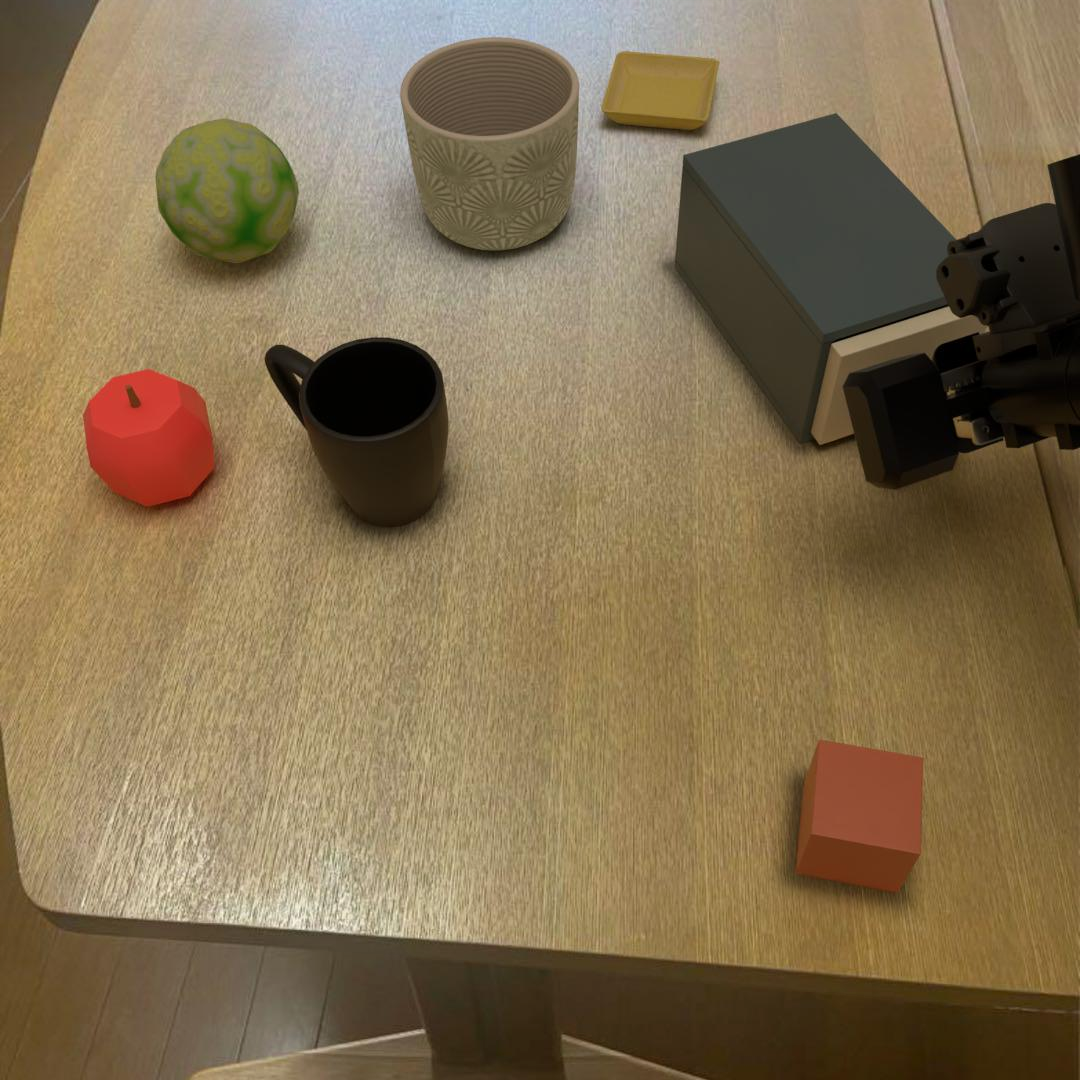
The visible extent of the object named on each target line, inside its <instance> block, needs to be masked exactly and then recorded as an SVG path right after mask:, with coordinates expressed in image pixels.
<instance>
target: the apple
mask: <svg viewBox="0 0 1080 1080" xmlns="http://www.w3.org/2000/svg"><path fill="white" fill-rule="evenodd" d="M82 419H83V427H84V429H83V430H84V437H85V445H86V452H87V457H88V461H89V466H90V468H91V469H92V470H93V472H94V473H95V474H96V475H97V476H98V477H99V478H100V479H101V480H102V481H103V482H104V483H105V484H106V486H108V487H109V489H110V490H112V492H113V493H115V494H117V495H119V496H122V497H124V498H126V499H128V500H131V501H133V502H135V503H137V504H139V505H142V506H145V507H146V508H148V507H152V506H157V505H160V504H164V503H167V502H171V501H172V502H173V501H176V500H179V499H180V500H181V499H183V498H187V497H191V495H192V494H193V493H194V492H195V491H196V490H197V488H198V487H199V486H200V485H201V484H202V483H203V482H204V480H205V479H206V478H207V477H208V476H209V475H210V474H211V473H212V471H213V470H214V469H215V468H216V463H215V462H216V461H215V453H214V440H213V433H212V429H211V423H210V418H209V413H208V408H207V403H206V402H205V400H204V399H203V397H202V395H201V394H200V393H199V391H198V390H197V389H196V388H195V387H193V386H192V385H190V384H187V383H185V382H183V381H180V380H178V379H175V378H172V377H170V376H168V375H166V374H162V373H160V372H158V371H155V370H152V369H150V368H146V369H143V370H138V371H134V372H129V373H125V374H121V375H116V376H112V377H111V379H109V380H108V382H107V383H105V384H104V386H102V387H101V388H100V390H98V391H97V392H96V393H95V394H94V396H93V397H91V399H89V400H88V404H87V405H86V407H85V409H84V411H83V413H82Z"/></svg>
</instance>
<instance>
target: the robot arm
mask: <svg viewBox="0 0 1080 1080" xmlns="http://www.w3.org/2000/svg"><path fill="white" fill-rule="evenodd" d="M1046 167H1047V171H1048V175H1049V176H1048V177H1049V181H1050V184H1051V191H1052V194H1053V199H1054V203H1052V202H1044V203H1039V204H1036V205H1033V206H1031V207H1027V208H1026V207H1025V208H1023V209H1020V210H1017V211H1013V212H1010V213H1007V214H1003V215H1000V216H996V217H994V218H991V219H989V220H988V221H987V222H986V223H985V224H984V225H983V226H982V227H981V228H980V229H979V230H978V231H976V232H971V233H969V234H967V235H966V236H964V237H961V238H956V240H954V241H951V242H949V243H948V246H947V252H948V255H949V256H947V257H946V258H945V259H944V260H943V261H942V262H941V263H940V264H939V265H938V267H937V271H936V279H937V281H938V284H939V286H940V288H941V290H942V292H943V294H944V297H945V299H946V301H947V303H948V305H949V307H950V310H951V312H952V313H953V314H954V315H955V316H957V317H959V318H963V317H966V316H970V315H973V316H976V317H977V318H978V319H979V321H980V323H981V324H982V325H987V328H988V330H989V331H985V333H983V334H979V332H977V333H974V334H971V335H968V336H964V337H961V338H958V339H955V340H952V341H949V342H946V343H943V344H941V345H939V346H938V347H937V348H936V349H935V351H934V353H933V356H932V360H931V359H930V358H929V357H928V356H927V354H926V353H919V354H912V355H908V356H903V357H899V358H895V359H891V360H888V361H885V362H882V363H879V364H876V365H873V366H870V367H867V368H864V369H861V370H858V371H855V372H851V373H849V375H848V377H847V379H846V381H845V383H844V385H843V391H844V395H845V399H846V403H847V407H848V411H849V415H850V419H851V423H852V427H853V431H854V434H853V435H854V438H855V443H856V447H857V451H858V455H859V459H860V462H861V467H862V470H863V474H864V478H865V479H864V480H865V482H868V483H869V484H871V485H872V486H875V487H876V488H878V489H887V490H896V491H897V490H899V489H902V488H906V487H908V486H910V485H914V484H918V483H919V482H922V481H925V480H928V479H931V478H933V477H936V476H939V475H942V474H945V473H947V472H951V471H954V468H955V465H956V463H957V460H958V457H959V455H960V454H970V453H972V452H975V451H978V450H981V449H984V448H987V447H989V446H993V445H995V444H998V443H1000V442H1003V441H1004V443H1005V447H1006V449H1021V448H1024V447H1027V446H1029V445H1033V444H1035V443H1037V442H1038V443H1039V442H1040V441H1041V442H1042V441H1043V440H1046V439H1049V438H1053V437H1054V438H1056V440H1057V445H1058V449H1059V450H1063V451H1075V450H1077V449H1080V153H1079V154H1076V155H1073V156H1072V155H1071V156H1069V157H1066V158H1063V159H1061V160H1060V159H1059V160H1057V161H1053V162H1051V163H1047V164H1046Z"/></svg>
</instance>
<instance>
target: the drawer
mask: <svg viewBox="0 0 1080 1080" xmlns="http://www.w3.org/2000/svg"><path fill="white" fill-rule="evenodd" d="M987 329H988V326H987V325H982V324H981V323H980V321H979V319H978V318H977V317H976V316H973V315H970V316H966V317H963V318H959V317H957V316H955V315H954V314H953V313H952V312H951V310H950V307H949V305H948V304H947V305H944V306H941V307H938V308H934V309H931V310H928V311H925V312H922V313H919V314H916V315H912V316H909V317H906V318H903V319H900V320H897V321H893V322H890V323H887V324H884V325H881V326H878V327H875V328H871V329H868V330H865V331H862V332H859V333H856V334H853V335H849V336H846V337H843V338H840V339H837V340H834V341H833V343H832V344H831V347H830V351H829V356H828V360H827V364H826V369H825V373H824V377H823V382H822V386H821V390H820V395H819V399H818V403H817V408H816V412H815V416H814V421H813V425H812V430H811V434H812V435H813V436H814V438H815V439H814V440H815V441H816V442H817V443H818V445H820V446H821V445H824V444H828V443H830V442H833V441H836V440H837V441H838V440H840V439H842V438H845V437H848V436H851V435H854V431H853V427H852V423H851V419H850V415H849V411H848V407H847V403H846V399H845V395H844V391H843V385H844V383H845V381H846V379H847V377H848V375H849V373H851V372H855V371H858V370H861V369H864V368H867V367H870V366H873V365H876V364H879V363H882V362H885V361H888V360H891V359H895V358H899V357H903V356H908V355H912V354H919V353H926V354H927V356H928V357H929V358H930V359H931V360H932V356H933V353H934V351H935V349H936V348H937V347H938V346H939V345H941V344H943V343H946V342H949V341H952V340H955V339H958V338H961V337H964V336H968V335H971V334H974V333H977V332H979V334H983V333H986V332H987Z"/></svg>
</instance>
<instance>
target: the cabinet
mask: <svg viewBox="0 0 1080 1080" xmlns="http://www.w3.org/2000/svg"><path fill="white" fill-rule="evenodd" d="M680 179H681V180H680V192H679V193H680V194H679V205H678V218H677V230H676V241H675V242H676V243H675V254H674V255H675V256H674V257H675V258H674V269H675V271H676V272H677V273H678V274H679V276H680V277H681V279H682V280H683V281H684V283H685V285H686V286H687V287H688V289H689V290H690V291H691V292H692V295H694V297H695V298H696V300H697V301H698V303H699V304H700V306H701V307H702V308H703V310H704V311H705V313H706V314H707V315H708V317H709V318H710V319H711V321H712V323H713V324H714V325H715V327H716V328H717V330H718V331H719V332H720V334H721V335H722V336H723V338H724V340H725V341H726V342H727V344H728V345H729V347H730V348H731V349H732V351H733V352H734V354H735V355H736V356H737V358H738V359H739V361H740V362H741V364H742V365H743V367H745V369H746V370H747V372H748V373H749V375H750V376H751V378H752V379H753V380H754V382H755V383H756V385H757V386H758V387H759V389H760V390H761V392H762V393H763V394H764V396H765V397H766V399H767V400H768V401H769V403H770V404H771V406H772V407H773V409H774V410H775V411H776V413H777V414H778V415H779V417H780V418H781V420H782V421H783V423H784V424H785V425H786V427H787V428H788V430H789V431H790V432H791V434H792V435H793V436H794V438H795V440H796V441H797V442H798V444H799V445H803V444H804V443H807V442H811V441H814V440H816V439H815V438H814V436H813V435H812V434H811V430H812V425H813V421H814V416H815V412H816V408H817V403H818V399H819V395H820V390H821V386H822V382H823V377H824V373H825V369H826V364H827V360H828V356H829V351H830V347H831V344H832V343H833V341H834V340H837V339H840V338H843V337H846V336H849V335H853V334H856V333H859V332H862V331H865V330H868V329H871V328H875V327H878V326H881V325H884V324H887V323H890V322H893V321H897V320H900V319H903V318H906V317H909V316H912V315H916V314H919V313H922V312H925V311H928V310H931V309H934V308H938V307H941V306H944V305H947V304H948V303H947V301H946V299H945V297H944V294H943V292H942V290H941V288H940V286H939V284H938V281H937V279H936V271H937V267H938V265H939V264H940V263H941V262H942V261H943V260H944V259H945V258H946V257H947V256H949V255H948V252H947V246H948V243H949V242H951V241H954V240H957V238H956V237H954V235H953V234H952V233H951V232H950V231H949V230H948V229H947V228H946V227H945V225H943V223H941V222H940V220H939V219H938V218H937V217H936V216H935V215H934V214H933V213H932V212H931V211H930V210H929V209H928V208H927V207H926V205H924V203H922V202H921V200H920V199H919V198H918V197H917V196H916V195H915V194H914V193H913V192H912V190H910V189H909V188H908V186H906V184H904V182H903V181H901V179H900V178H899V177H898V176H897V175H896V174H895V173H894V172H893V170H891V169H890V168H889V167H888V165H886V163H884V161H883V160H882V159H881V158H880V157H879V156H878V155H877V154H876V153H875V152H874V151H873V150H872V149H871V147H870V146H868V145H867V144H866V142H865V141H864V140H863V139H862V138H861V137H860V136H859V135H858V134H857V133H856V132H855V131H854V130H853V129H852V127H850V125H848V124H847V122H845V120H844V119H843V118H842V117H841V115H839V114H838V113H837V112H835V113H832V114H828V115H827V114H826V115H824V116H820V117H817V118H813V119H809V120H806V121H802V122H798V123H795V124H791V125H787V126H783V127H781V128H775V129H772V130H769V131H765V132H762V133H758V134H755V135H754V134H753V135H751V136H747V137H745V138H740V139H737V140H733V141H730V142H726V143H722V144H718V145H714V146H711V147H708V148H704V149H699V150H696V151H693V152H689V153H686V154H683V156H682V168H681V178H680Z"/></svg>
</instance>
